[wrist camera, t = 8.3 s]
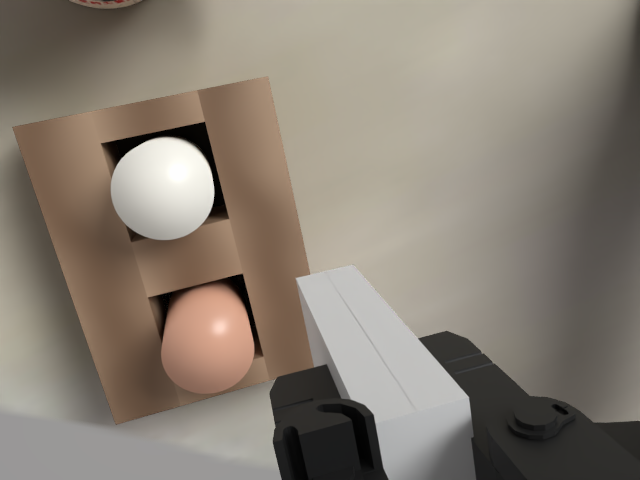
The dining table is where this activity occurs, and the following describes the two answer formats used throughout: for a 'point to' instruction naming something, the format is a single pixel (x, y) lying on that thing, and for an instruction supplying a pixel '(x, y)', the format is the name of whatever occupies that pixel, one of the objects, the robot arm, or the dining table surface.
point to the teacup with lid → (106, 3)
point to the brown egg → (207, 337)
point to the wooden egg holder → (177, 254)
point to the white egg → (163, 188)
